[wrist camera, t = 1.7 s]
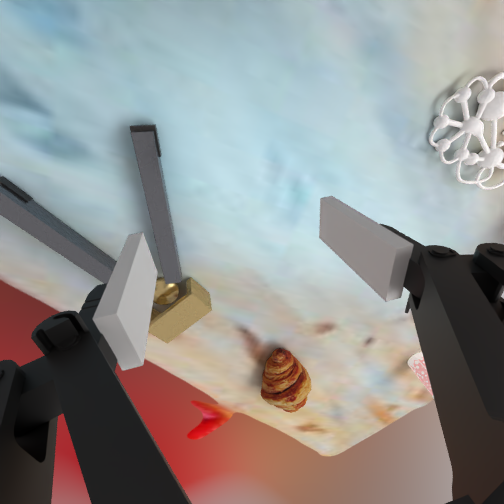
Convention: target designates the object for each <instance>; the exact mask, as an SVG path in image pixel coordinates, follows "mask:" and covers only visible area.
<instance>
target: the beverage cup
mask: <svg viewBox="0 0 504 504" xmlns="http://www.w3.org/2000/svg"><path fill="white" fill-rule="evenodd" d="M408 365H409V366H410V368H411V369H412V370H413V371H414V373H415V374H416V375H417V377H418V378H419V379H420V380H421V382H422V383H423V384H424V385H425V387H426V388H427V389H428V391H429V392H430V393H431V394H432V396H433V392H432V388H431V384H430V380H429V377H428V373H427V369H426V365H425V361H424V357H423V354H422V352H420V353H416V354H414V355H413V356H412V357H410V359H409V360H408ZM433 399H434V396H433Z"/></svg>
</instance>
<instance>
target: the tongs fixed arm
mask: <svg viewBox="0 0 504 504" xmlns="http://www.w3.org/2000/svg"><path fill="white" fill-rule="evenodd" d="M32 199H33V198H32V197H30V196H29V195H27V194H26V193H25V192H23V191H22V190H21V189H19V188H18V187H17V186H15V185H14V184H13V183H11V182H10V181H8V180H7V179H6V178H4V177H3V176H2V177H0V215H2V216H3V217H5V218H6V219H8V220H9V221H11V222H12V223H14V224H15V225H17V226H18V227H20V228H22V229H23V230H25V231H26V232H28V233H29V234H31V235H32V236H34V237H35V238H37V239H38V240H40V241H41V242H43V243H44V244H46V245H47V246H49V247H50V248H52V249H53V250H55V251H56V252H58V253H59V254H61V255H62V256H64V257H65V258H67V259H68V260H70V261H71V262H73V263H74V264H76V265H77V266H79V267H80V268H82V269H83V270H85V271H86V272H88V273H89V274H91V275H92V276H94V277H95V278H97V279H98V280H100V281H101V282H103V283H104V284H106V283H108V282H109V279H110V277H111V275H112V272H113V270H114V268H115V265H116V263H117V262H116V261H115V260H113V259H112V258H110V257H109V256H108V255H106V254H105V253H104V252H102V251H101V250H100V249H98V248H97V247H95V246H94V245H93V244H91V243H90V242H89V241H87V240H86V239H85V238H83V237H82V236H80V235H79V234H78V233H76V232H75V231H74V230H72V229H71V228H70V227H68V226H67V225H65V224H64V223H63V222H61V221H60V220H59V219H57V218H56V217H55V216H53V215H52V214H50V213H49V212H48V211H46V210H45V209H44V208H42V207H41V206H40V205H38V204H37V203H35V202H34V201H33V200H32ZM178 295H179V287H178V284H177V283H171V284H166V283H165V279H164V277H163V278H158V279H157V280H156V286H155V292H154V299H153V302H154V303H156V304H160V305H166V304H170V303H172V302H174V301H175V300H176V299H177V297H178Z"/></svg>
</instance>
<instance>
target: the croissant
mask: <svg viewBox="0 0 504 504" xmlns="http://www.w3.org/2000/svg"><path fill="white" fill-rule="evenodd" d="M262 382H263V383H262V389H261V396H262V398H263V399H264V400H265V401H266V402H268V403H269V404H271V405H274V406H276V407H278V408H281V409H283V410H285V411H287V412H290V413H292V412H296V411H297V410H298V409H299V408H301V407H303V406H304V405H305V404H306V401H307V395H308V393H309V392H310V390H311V380H310V377H309V375H308V372H307V371H306V369H305V368H304V367H303V366H302V364H301V363H300V362H299V361H298V360H297V359H296V358H295V357H294V356H293V355H292V354H291V353H290V351H287V350H285V349H281V348H279V349H276V350H275V351H274V352H273V353H272V356H271V357H270V358H269V359H268V360H267V362H266V366H265V370H264V372H263V381H262Z"/></svg>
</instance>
